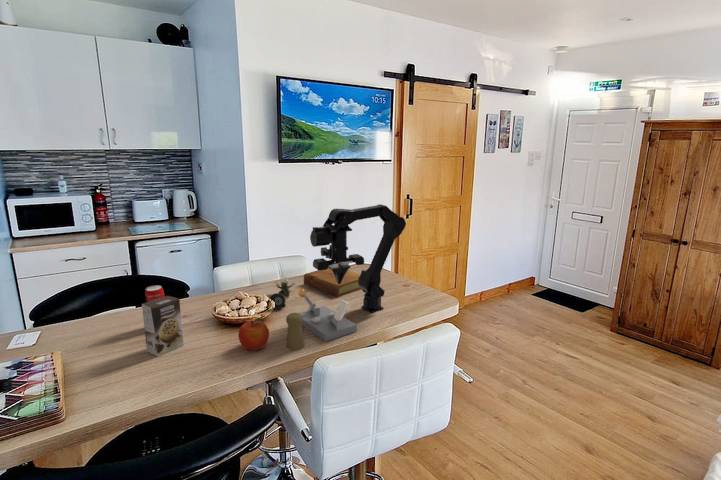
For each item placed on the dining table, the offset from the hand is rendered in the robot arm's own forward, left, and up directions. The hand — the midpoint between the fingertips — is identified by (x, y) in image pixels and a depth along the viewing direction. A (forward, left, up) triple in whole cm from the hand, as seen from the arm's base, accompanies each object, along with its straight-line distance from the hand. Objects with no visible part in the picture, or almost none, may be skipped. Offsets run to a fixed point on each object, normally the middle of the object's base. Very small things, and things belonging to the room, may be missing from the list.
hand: (338, 283), depth 153 cm
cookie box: (+59, -12, -13) cm, 62 cm away
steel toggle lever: (+8, -3, -10) cm, 13 cm away
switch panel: (+9, +4, -13) cm, 16 cm away
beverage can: (+57, -30, -13) cm, 66 cm away
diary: (-18, -29, -14) cm, 37 cm away
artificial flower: (+9, -29, -14) cm, 33 cm away
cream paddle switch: (+10, +11, -10) cm, 18 cm away
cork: (+25, +11, -13) cm, 30 cm away
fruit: (+36, +4, -13) cm, 39 cm away
